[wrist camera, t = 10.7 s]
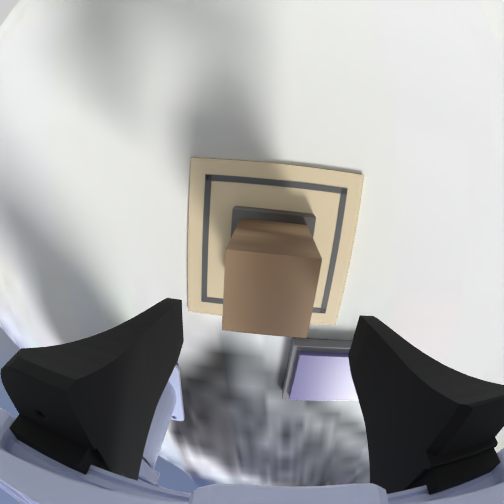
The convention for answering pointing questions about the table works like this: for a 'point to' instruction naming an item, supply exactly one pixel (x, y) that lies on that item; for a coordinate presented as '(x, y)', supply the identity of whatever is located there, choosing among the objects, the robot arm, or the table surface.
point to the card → (269, 197)
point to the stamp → (270, 272)
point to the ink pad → (319, 371)
